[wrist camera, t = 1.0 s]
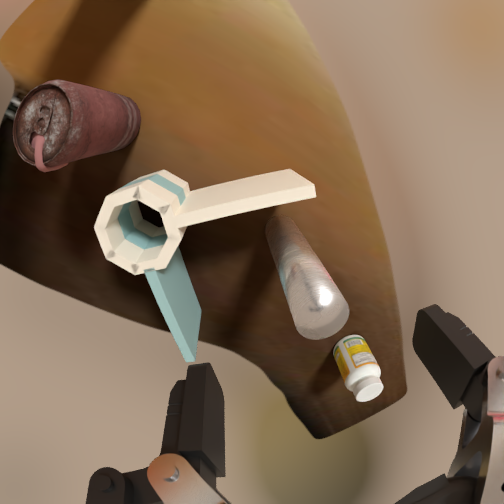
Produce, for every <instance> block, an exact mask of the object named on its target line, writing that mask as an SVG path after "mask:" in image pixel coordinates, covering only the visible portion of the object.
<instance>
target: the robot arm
mask: <svg viewBox="0 0 504 504" xmlns="http://www.w3.org/2000/svg"><path fill="white" fill-rule="evenodd" d="M413 347H414V350H415V352H416V354H417V355H418V357H419V358H420V360H421V361H422V363H423V364H424V365H425V367H426V368H427V370H428V371H429V373H430V374H431V376H432V377H433V379H434V380H435V381H436V383H437V384H438V386H439V387H440V389H441V390H442V392H443V394H444V395H445V397H446V398H447V400H448V401H449V403H450V404H451V406H452V407H453V409H455V408H457V407H459V406H460V405H462V404H463V405H464V406H465V410H464V413H463V420H462V427H461V433H460V439H459V445H458V450H457V453H456V456H455V459H454V460H453V462H452V464H451V467H450V469H449V472H448V475H447V478H446V476H445V474H442V475H440V476H439V477H437V478H435V479H433V480H431V481H429V482H427V483H426V484H423V485H421V486H419V487H417V488H416V489H414V490H413V491H412V492H410V493H409V494H408V495H406V496H405V497H403V498H402V499H401V500H399V501H398V502H396V503H395V504H504V356H498V357H495V356H494V355H493V354H492V353H491V352H490V350H489V349H488V348H487V347H486V346H485V345H484V344H483V343H482V342H481V341H480V340H479V338H478V337H477V336H476V335H475V334H472V331H471V330H470V329H469V328H468V327H466V325H465V324H464V323H463V322H462V321H461V320H460V319H459V318H458V317H456V316H454V315H452V314H450V313H445V312H444V311H443V310H442V309H441V308H440V307H439V306H438V305H436V304H434V305H431V306H429V307H426V308H423V309H421V310H419V311H418V313H417V317H416V323H415V329H414V334H413ZM224 429H225V428H224V396H223V392H222V388H221V386H220V384H219V382H218V379H217V377H216V375H215V373H214V370H213V368H212V366H211V364H210V363H203V364H195V365H189V366H188V370H187V377H186V380H178V381H177V382H176V384H175V386H174V387H173V389H172V390H171V392H170V398H169V406H168V410H167V416H166V422H165V428H164V435H163V441H162V448H161V453H160V455H159V457H157V458H155V459H154V460H153V461H152V462H151V463H150V465H149V467H146V468H144V469H140V470H136V471H132V472H127V473H120V472H119V471H117V470H116V469H114V468H110V467H106V468H101V469H99V470H97V471H96V472H95V473H94V474H93V475H92V476H91V479H90V482H89V487H88V493H87V499H86V504H231V503H230V502H229V501H228V500H227V499H226V498H225V497H224V496H223V495H222V494H221V493H220V492H219V491H218V490H217V489H216V477H225V433H224V432H225V431H224Z"/></svg>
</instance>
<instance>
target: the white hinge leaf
mask: <svg viewBox="0 0 504 504" xmlns="http://www.w3.org/2000/svg"><path fill="white" fill-rule="evenodd" d="M155 174H158V175H160V176H162V177H164V178H166V179H167V180H169V181H171V182H173V183H174V184H176V185H178V186H180V187H181V188H183V190H184V193H185V197H186V198H185V200H184V201H183V203H182V205H181V206H180V203H179V199H178V196H177V195H176V194H174V193H172V192H170V191H169V190H167V189H165V188H163V187H162V186H160V185H158V184H156V183H154V182H153V181H151V180H149V179H147V180H144V181H141V182H138V183H135V184H132V185H129V186H126V187H123V188H120V189H118V190H116V191H115V192H113V193H111V194H109V195H108V196H106V198H105V200H104V203H103V205H102V207H101V210H100V213H99V215H98V218H97V220H96V223H95V226H94V229H95V232H96V234H97V237H98V240H99V242H100V245H101V247H102V250H103V252H104V255H105V257H106V259H107V260H109V261H111V262H113V263H114V264H116V265H118V266H120V267H121V268H123V269H125V270H127V271H128V272H130V273H132V274H134V275H138V274H142V273H145V272H144V270H145V269H148V270H149V269H150V268H153V267H154V269H155V270H160V269H164V268H166V267H167V265H168V263H169V261H170V259H171V258H172V256H173V254H174V252H175V250H176V249H177V247H178V245H179V243H180V241H181V240H182V237H183V235H184V233H185V230H186V228H187V226H189V225H193V224H197V223H201V222H205V221H209V220H213V219H217V218H222V217H226V216H230V215H235V214H239V213H243V212H248V211H252V210H257V209H261V208H266V207H271V206H275V205H280V204H285V203H289V202H294V201H299V200H304V199H309V198H314V197H316V193H315V186H314V184H313V183H311V182H310V181H308V180H307V179H305V178H304V177H302V176H300V175H299V174H297V173H296V172H294V171H292V170H291V169H287V170H282V171H276V172H271V173H267V174H262V175H257V176H252V177H248V178H243V179H239V180H234V181H230V182H226V183H222V184H217V185H213V186H209V187H205V188H201V189H197V190H193V191H190V189H189V186H188V183H187V182H185V181H184V180H182V179H180V178H178V177H177V176H175V175H173V174H171V173H169V172H168V171H166V170H161V171H158V172H155V173H152V174H148V175H145V176H142V177H139V178H137V179H136V180H139V179H142V178H145V177H149V176H152V175H155ZM136 180H134V181H136ZM132 182H133V181H132ZM138 200H139V201H140V202H142V203H144V204H146V205H147V206H149V207H151V208H153V209H154V210H156V211H158V212H160V214H161V217H162V221H163V224H164V226H163V227H157V226H155V225H153V224H151V223H150V222H148V221H146V220H144V219H143V217H142V214H141V211H140V208H139V205H138V202H137V201H138ZM131 201H132V202H131ZM128 202H131V204H130V206H129V212H130V215H131V218H132V221H133V224H134V227H135V228H136V229H138V230H139V231H141V232H143V233H145V234H147V235H148V236H150V237H156V236H160V235H164V234H167V236H168V239H167V240H166V242H165V244H164V245H160V246H156V247H152V248H148V249H145V250H144V249H142V248H140V247H138V246H137V245H135V244H133V243H131V242H130V241H128V240H126V239H125V238H124V235H123V232H122V229H121V226H120V224H119V221H118V216H119V213H120V211H121V209H122V207H123V205H124V204H125V203H128ZM152 271H153V270H152ZM147 272H150V271H147Z"/></svg>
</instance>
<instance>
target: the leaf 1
mask: <svg viewBox="0 0 504 504" xmlns="http://www.w3.org/2000/svg"><path fill="white" fill-rule="evenodd" d="M147 179H149V180H151V181H153V182H154V183H156V184H158V185H160V186H162V187H163V188H165V189H167V190H169V191H170V192H172V193H174V194H176V195H177V196H178V199H179V203H180V206H181V205H182V203H183V201H184V200H185V198H186V197H185V193H184V190H183V188H181V187H180V186H178V185H176V184H174V183H173V182H171V181H169V180H167V179H166V178H164V177H162V176H160V175H158V174H155V175H152V176H149V177H145V178H142V179H139V180H136V181H133V182H130V183H128V184H127V185H125V186H123V187H126V186H129V185H132V184H135V183H138V182H141V181H144V180H147ZM123 187H121V188H123ZM131 202H132V201H131ZM131 202H128V203H125V204H124V205H123V207H122V209H121V211H120V213H119V216H118V221H119V224H120V226H121V229H122V232H123V235H124V238H125V239H126V240H128V241H130V242H131V243H133V244H135V245H137V246H138V247H140V248H142V249H144V250H145V249H148V248H152V247H156V246H160V245H164V244H165V242H166V240H167V239H168V236H167V234H164V235H160V236H156V237H150V236H148V235H147V234H145V233H143V232H141V231H139V230H138V229H136V228H135V227H134V224H133V221H132V218H131V215H130V212H129V206H130V204H131ZM152 270H153V271H152ZM147 271H150V272H147ZM144 272H145V275H146V277H147V280H148V282H149V284H150V287H151V289H152V292H153V294H154V296H155V298H156V301H157V303H158V305H159V307H160V310H161V312H162V314H163V316H164V318H165V321H166V323H167V325H168V327H169V329H170V331H171V333H172V335H173V337H174V339H175V341H176V343H177V345H178V347H179V349H180V351H181V353H182V355H183V357H184V359H185V361H186V362H192V361H195V359H196V350H197V342H198V333H199V325H200V317H201V308H200V306H199V303H198V300H197V298H196V295H195V292H194V289H193V287H192V284H191V281H190V278H189V275H188V272H187V270H186V267H185V264H184V261H183V258H182V255H181V252H180V249H179V246H178V247H177V249H176V250H175V252H174V254H173V256H172V258H171V259H170V261H169V263H168V265H167V267H166V268H164V269H160V270H155V269H154V267H153V268H150V269H149V270H148V269H145V270H144Z"/></svg>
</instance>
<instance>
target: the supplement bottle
mask: <svg viewBox="0 0 504 504" xmlns="http://www.w3.org/2000/svg"><path fill="white" fill-rule="evenodd" d="M333 355H334V358H335V360H336V363H337V365H338V368H339V370H340V373H341V375H342V378H343V380H344V383H345V385H346V387H347V388H348V389H349V390H350V391H353V393H354V395H355V397H356V399H357V400H358V401H360V402H365V401H369V400H371V399H373V398H375V397H377V396H378V395H379V394H380V393H381V392H382V390H383V384H382V382H381V380H380V379H379V377H380V374H381V370H380V367H379V366H378V364H377V362H376V360H375V358H374V356H373V355H372V353H371V351H370V349H369V347H368V345H367V343H366V342H365V340H364V339H363V337H361V336H359V335H349V336H347V337H344V338H343V339H341V340H340V341H339V342H338V343H337V344H336V345H335V347H334V350H333Z"/></svg>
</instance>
